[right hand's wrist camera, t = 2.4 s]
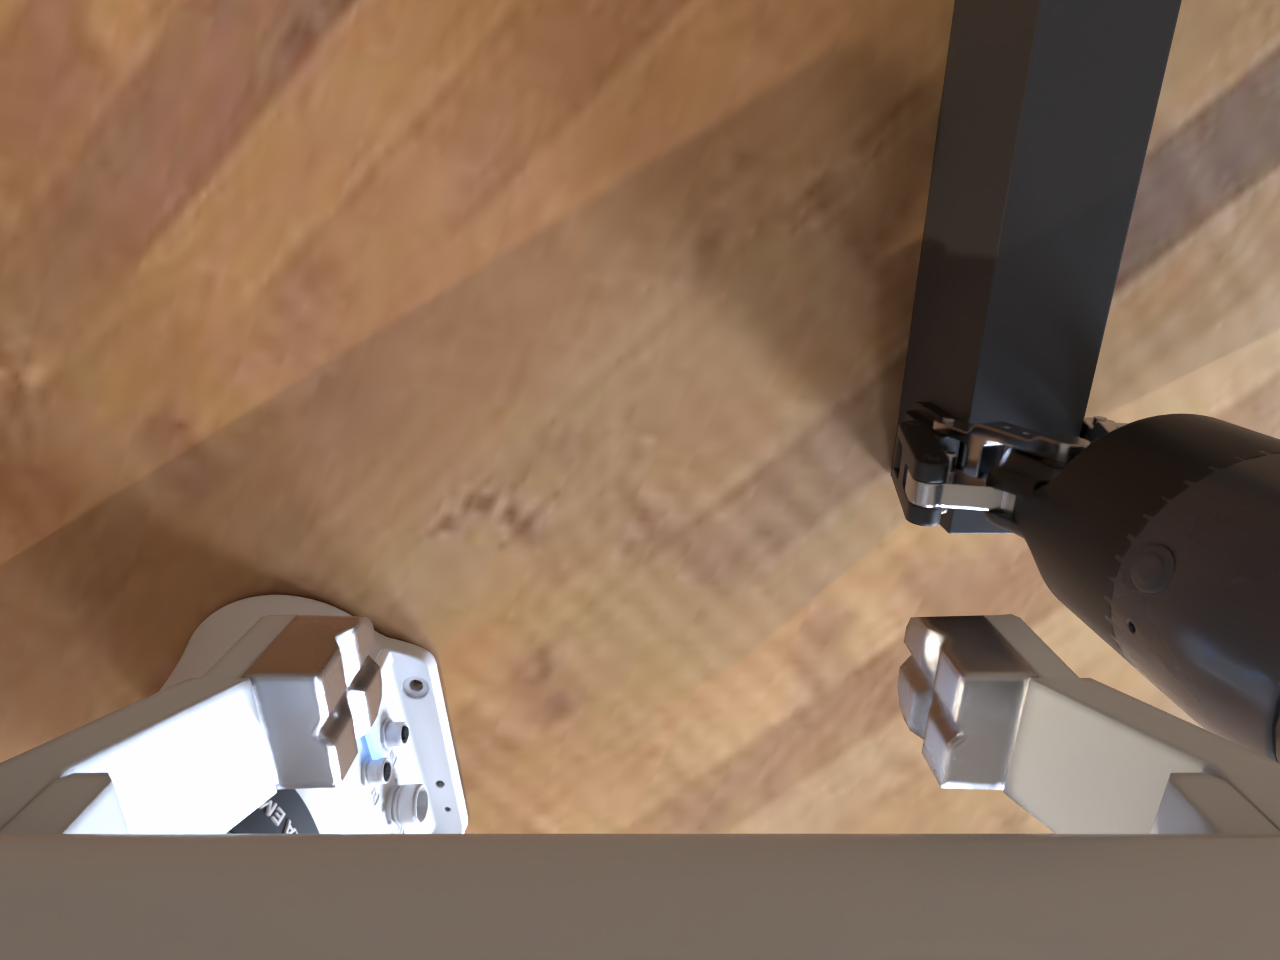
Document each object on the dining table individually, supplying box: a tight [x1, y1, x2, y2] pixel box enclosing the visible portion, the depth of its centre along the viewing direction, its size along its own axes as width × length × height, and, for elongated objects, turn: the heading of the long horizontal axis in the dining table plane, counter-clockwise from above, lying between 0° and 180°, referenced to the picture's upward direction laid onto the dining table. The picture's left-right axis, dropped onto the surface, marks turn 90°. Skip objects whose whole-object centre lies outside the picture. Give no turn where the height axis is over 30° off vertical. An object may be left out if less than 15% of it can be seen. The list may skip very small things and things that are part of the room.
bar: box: [891, 0, 1181, 533], centre depth 30 cm, size 28×5×8 cm, turn 0°
